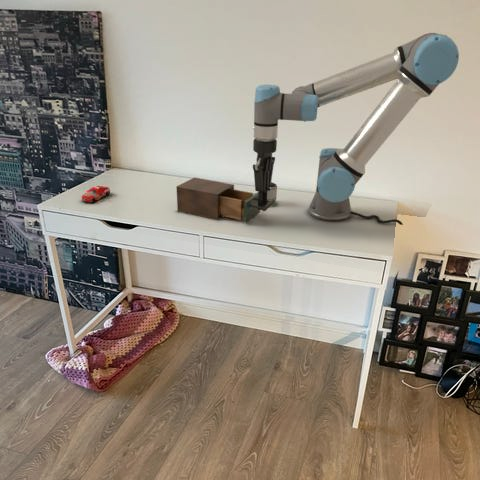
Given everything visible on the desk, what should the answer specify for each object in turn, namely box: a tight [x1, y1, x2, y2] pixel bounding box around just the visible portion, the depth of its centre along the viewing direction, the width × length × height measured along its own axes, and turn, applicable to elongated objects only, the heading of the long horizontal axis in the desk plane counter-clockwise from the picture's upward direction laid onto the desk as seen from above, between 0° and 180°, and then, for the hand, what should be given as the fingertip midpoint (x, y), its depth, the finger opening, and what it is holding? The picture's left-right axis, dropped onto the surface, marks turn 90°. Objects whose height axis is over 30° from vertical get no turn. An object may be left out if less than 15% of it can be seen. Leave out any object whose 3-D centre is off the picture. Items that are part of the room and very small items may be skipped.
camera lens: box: [267, 181, 278, 207], centre depth 183 cm, size 6×6×8 cm
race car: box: [81, 185, 111, 204], centre depth 185 cm, size 13×5×4 cm, turn 153°
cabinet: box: [176, 177, 235, 221], centre depth 176 cm, size 17×12×9 cm
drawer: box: [219, 188, 276, 224], centre depth 170 cm, size 22×11×7 cm, turn 63°
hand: (262, 209), depth 168 cm, fingers closed
